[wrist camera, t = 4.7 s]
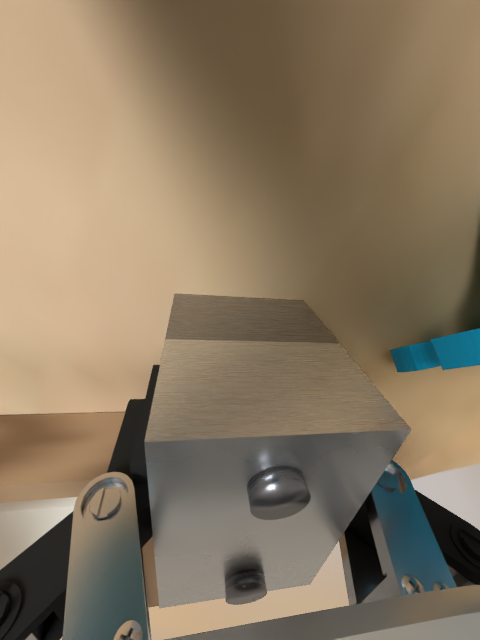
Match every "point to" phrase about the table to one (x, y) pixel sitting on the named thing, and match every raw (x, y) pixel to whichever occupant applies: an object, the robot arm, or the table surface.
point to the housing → (257, 448)
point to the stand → (54, 476)
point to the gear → (440, 352)
